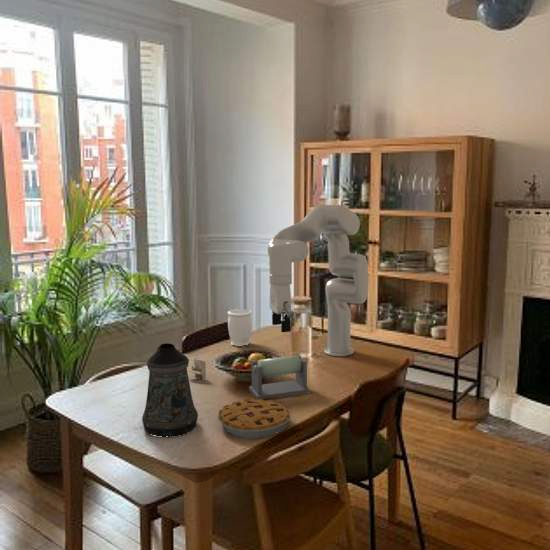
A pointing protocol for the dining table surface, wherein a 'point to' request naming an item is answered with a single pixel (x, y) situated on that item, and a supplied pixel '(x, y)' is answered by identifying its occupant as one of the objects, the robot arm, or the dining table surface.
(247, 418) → the pie
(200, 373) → the architectural model
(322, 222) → the robot arm
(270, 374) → the roll
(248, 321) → the jar
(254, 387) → the roll holder
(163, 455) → the dining table surface
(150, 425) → the beer stein
